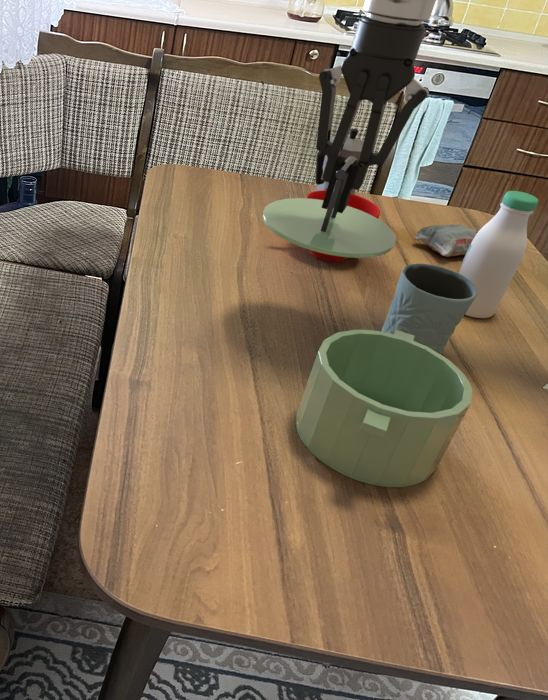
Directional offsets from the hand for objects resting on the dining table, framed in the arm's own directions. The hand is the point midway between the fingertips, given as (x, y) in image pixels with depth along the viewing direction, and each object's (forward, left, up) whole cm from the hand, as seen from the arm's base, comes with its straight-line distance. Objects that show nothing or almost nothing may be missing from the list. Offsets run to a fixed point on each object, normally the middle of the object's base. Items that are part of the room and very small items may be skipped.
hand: (333, 207), depth 93 cm
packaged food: (-18, -48, -20) cm, 55 cm away
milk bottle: (-23, -26, -20) cm, 40 cm away
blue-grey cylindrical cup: (-16, -5, -20) cm, 26 cm away
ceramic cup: (+4, -30, -20) cm, 36 cm away
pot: (-14, +20, -20) cm, 32 cm away
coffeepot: (+7, -50, -20) cm, 54 cm away
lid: (0, 0, -3) cm, 3 cm away
